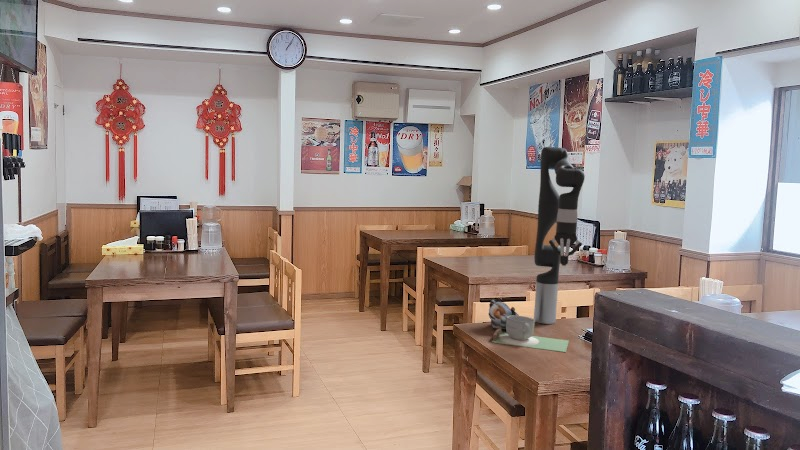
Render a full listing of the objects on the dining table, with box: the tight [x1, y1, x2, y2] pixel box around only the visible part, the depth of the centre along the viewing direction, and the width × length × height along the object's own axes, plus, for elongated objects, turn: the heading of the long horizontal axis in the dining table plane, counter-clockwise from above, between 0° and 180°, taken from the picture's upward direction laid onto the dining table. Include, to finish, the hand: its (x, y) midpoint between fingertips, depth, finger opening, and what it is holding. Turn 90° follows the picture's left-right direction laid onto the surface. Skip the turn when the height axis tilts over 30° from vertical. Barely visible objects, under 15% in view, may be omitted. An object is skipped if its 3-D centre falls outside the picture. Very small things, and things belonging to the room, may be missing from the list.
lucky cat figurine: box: [488, 299, 520, 330], centre depth 253 cm, size 15×12×14 cm
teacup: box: [505, 315, 536, 340], centre depth 238 cm, size 14×11×8 cm
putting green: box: [491, 327, 570, 353], centre depth 236 cm, size 16×27×2 cm, turn 71°
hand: (563, 265), depth 240 cm, fingers closed
